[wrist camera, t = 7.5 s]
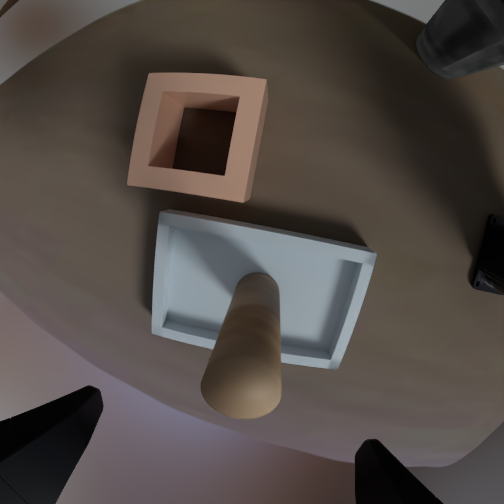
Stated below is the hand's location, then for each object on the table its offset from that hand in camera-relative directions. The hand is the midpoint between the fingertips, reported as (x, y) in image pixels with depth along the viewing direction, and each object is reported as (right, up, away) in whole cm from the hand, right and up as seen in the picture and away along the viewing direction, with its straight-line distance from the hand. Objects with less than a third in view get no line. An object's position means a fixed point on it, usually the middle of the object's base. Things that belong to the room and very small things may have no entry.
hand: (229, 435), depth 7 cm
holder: (-2, +13, +10) cm, 17 cm away
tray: (+1, +3, +12) cm, 13 cm away
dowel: (+1, +3, +12) cm, 12 cm away
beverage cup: (+16, +22, +7) cm, 27 cm away
